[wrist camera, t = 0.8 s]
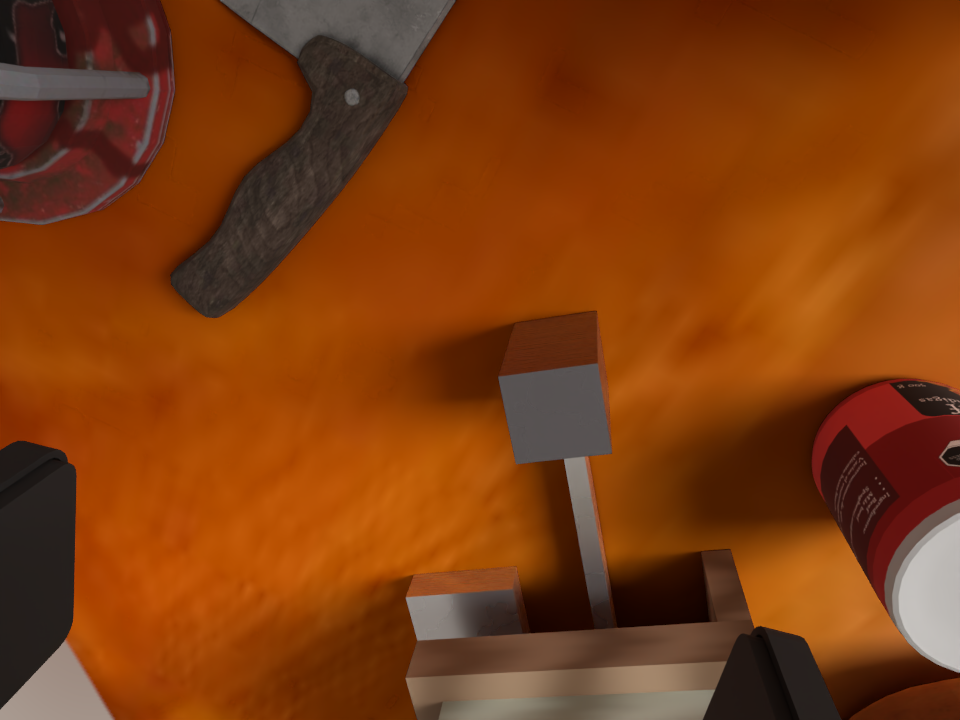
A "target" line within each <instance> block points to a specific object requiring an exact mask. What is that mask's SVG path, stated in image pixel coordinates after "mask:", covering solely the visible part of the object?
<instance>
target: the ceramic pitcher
mask: <svg viewBox="0 0 960 720" xmlns="http://www.w3.org/2000/svg"><path fill="white" fill-rule="evenodd" d="M849 720H960V678H955V679H949V680H943V681H938V682H934V683H929V684H924V685H919V686H914V687H910V688H907V689H905V690H902V691H899V692H896V693H894V694H891V695H888V696H886V697H884V698H882V699H880V700H878V701H876V702H874V703H872V704H870V705H869V706H867V707H866V708H864V709H862V710H861V711H859V712H858V713H856V714H854V715H853V716H852V717H851V718H850V719H849Z"/></svg>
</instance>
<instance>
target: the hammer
mask: <svg viewBox="0 0 960 720" xmlns="http://www.w3.org/2000/svg"><path fill="white" fill-rule="evenodd" d="M498 379H499V384H500V389H501V394H502V398H503V403H504V408H505V413H506V418H507V423H508V428H509V432H510V437H511V442H512V447H513V452H514V457H515V462H516V464H522V463H531V462H540V461H550V460H559V459H564V463H565V469H566V474H567V480H568V485H569V491H570V496H571V502H572V507H573V513H574V518H575V524H576V529H577V535H578V540H579V546H580V551H581V557H582V562H583V568H584V573H585V579H586V584H587V590H588V595H589V601H590V606H591V612H592V617H593V623H594V628H595V629H611V628H618V627H617V621H616V615H615V609H614V604H613V598H612V592H611V586H610V580H609V574H608V568H607V562H606V556H605V550H604V544H603V538H602V532H601V526H600V521H599V515H598V509H597V503H596V497H595V491H594V485H593V479H592V473H591V467H590V461H589V456H595V455H604V454H612V445H611V428H610V410H609V392H608V382H607V376H606V369H605V363H604V356H603V350H602V343H601V337H600V330H599V324H598V317H597V311H591V312H585V313H578V314H571V315H565V316H558V317H551V318H545V319H538V320H531V321H525V322H518V323H515V324H514V327H513V330H512V334H511V337H510V340H509V343H508V346H507V350H506V353H505V356H504V359H503V362H502V366H501V369H500V372H499V375H498Z"/></svg>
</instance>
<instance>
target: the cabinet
mask: <svg viewBox="0 0 960 720" xmlns="http://www.w3.org/2000/svg"><path fill="white" fill-rule="evenodd" d="M701 556H702V565H703V573H704V581H705V590H706V598H707V607H708V615H709V622H706V623H690V624H675V625H659V626H643V627H627V628H611V629H595V630H579V631H563V632H547V633H531V634H515V635H499V636H483V637H467V638H451V639H435V640H419V641H417V643H416V646H415V649H414V652H413V656H412V659H411V662H410V665H409V668H408V671H407V674H406V682H407V685H408V689H409V692H410V696H411V699H412V703H413V706H414V710H415V713H416V717H417V720H703V718H704V715H705V713H706V710H707V708H708V706H709V703H710V701H711V698H712V696H713V694H714V691H715V689H716V686H717V684H718V682H719V679H720V677H721V674H722V672H723V670H724V667H725V665H726V662H727V660H728V658H729V655H730V653H731V650H732V648H733V646H734V643H735V641H736V639H737V637H738V636H739V635H740V634H743V633H744V634H748V635H751V633H752V631H753V630H754V626H753V623H752V619H751V616H750V613H749V609H748V606H747V603H746V599H745V596H744V593H743V589H742V586H741V583H740V580H739V576H738V573H737V570H736V566H735V563H734V560H733V556H732V553H731V550H730V549H728V550H716V551H704V552H701Z"/></svg>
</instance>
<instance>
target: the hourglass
mask: <svg viewBox="0 0 960 720" xmlns="http://www.w3.org/2000/svg"><path fill="white" fill-rule="evenodd" d="M174 93H175V82H174V68H173V54H172V41H171V31H170V28H169V25H168V22H167V19H166V16H165V13H164V10H163V7H162V5H161V2H160V0H0V221H10V222H19V223H29V224H39V225H44V224H48V223H53V222H57V221H61V220H65V219H69V218H72V217H76V216H80V215H84V214H88V213H92V212H95V211H99V210H103V209H105V208H106V207H107V206H109V205H110V204H111V203H113V202H114V201H115V200H117V199H118V198H119V197H121V196H122V195H123V194H125V193H126V192H127V191H129V190H130V189H131V188H133V187H134V186H135V185H137V184H138V183H139V182H140V180H141V179H142V177H143V175H144V174H145V172H146V170H147V169H148V167H149V166H150V164H151V162H152V161H153V159H154V157H155V156H156V154H157V153H158V151H159V149H160V148H161V146H162V144H163V143H164V139H165V134H166V130H167V125H168V121H169V116H170V112H171V107H172V102H173V98H174Z"/></svg>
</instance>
